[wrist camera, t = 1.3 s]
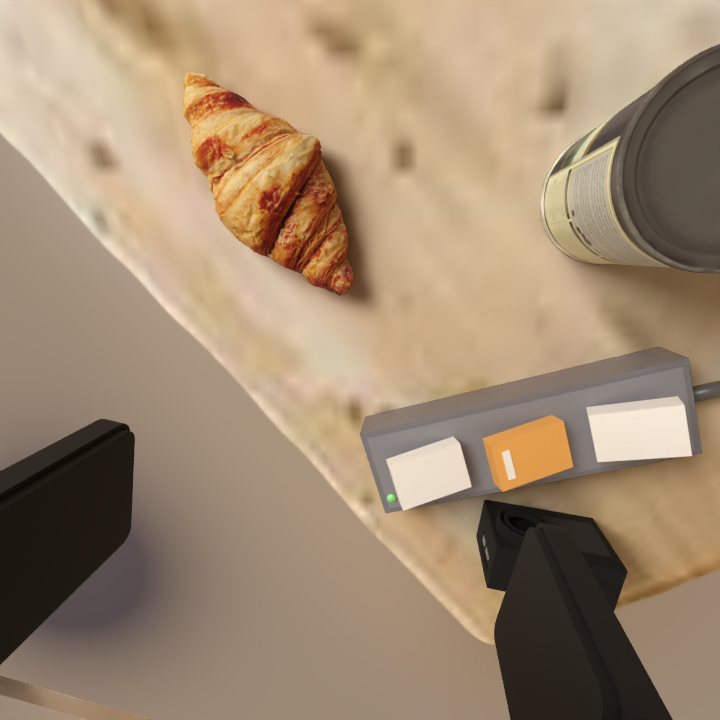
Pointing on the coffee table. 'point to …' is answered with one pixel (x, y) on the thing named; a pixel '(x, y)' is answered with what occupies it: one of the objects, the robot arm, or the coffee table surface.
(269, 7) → the coffee table surface
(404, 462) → the block
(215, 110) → the croissant
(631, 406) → the white rocker
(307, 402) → the coffee table surface
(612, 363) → the power strip
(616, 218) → the coffee can
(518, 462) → the amber rocker
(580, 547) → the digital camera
